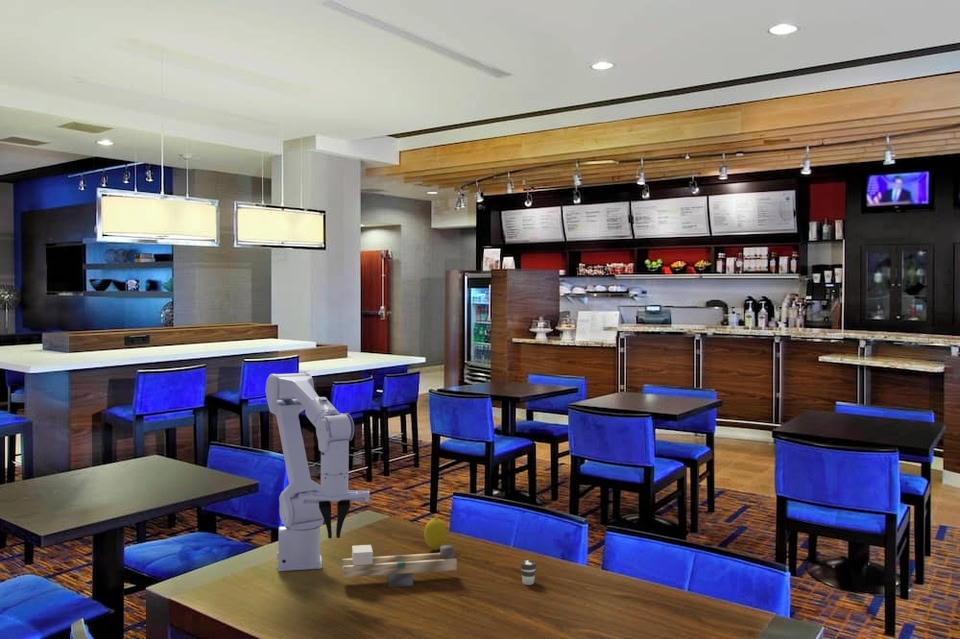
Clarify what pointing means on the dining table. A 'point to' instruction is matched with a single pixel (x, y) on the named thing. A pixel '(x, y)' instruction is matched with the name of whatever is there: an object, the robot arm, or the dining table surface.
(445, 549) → the beam
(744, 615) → the dining table surface
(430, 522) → the lemon
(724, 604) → the dining table surface
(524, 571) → the coffee cup
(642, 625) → the dining table surface
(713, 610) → the dining table surface
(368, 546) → the rider
